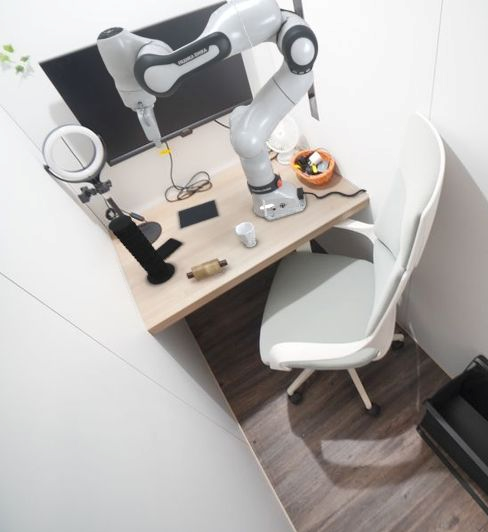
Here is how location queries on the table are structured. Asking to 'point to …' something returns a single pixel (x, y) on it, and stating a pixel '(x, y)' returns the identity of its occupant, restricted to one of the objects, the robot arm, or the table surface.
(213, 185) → the table surface
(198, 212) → the mat
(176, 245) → the smartphone
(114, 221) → the handle grip
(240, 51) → the robot arm
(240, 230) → the cup
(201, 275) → the rolling pin
